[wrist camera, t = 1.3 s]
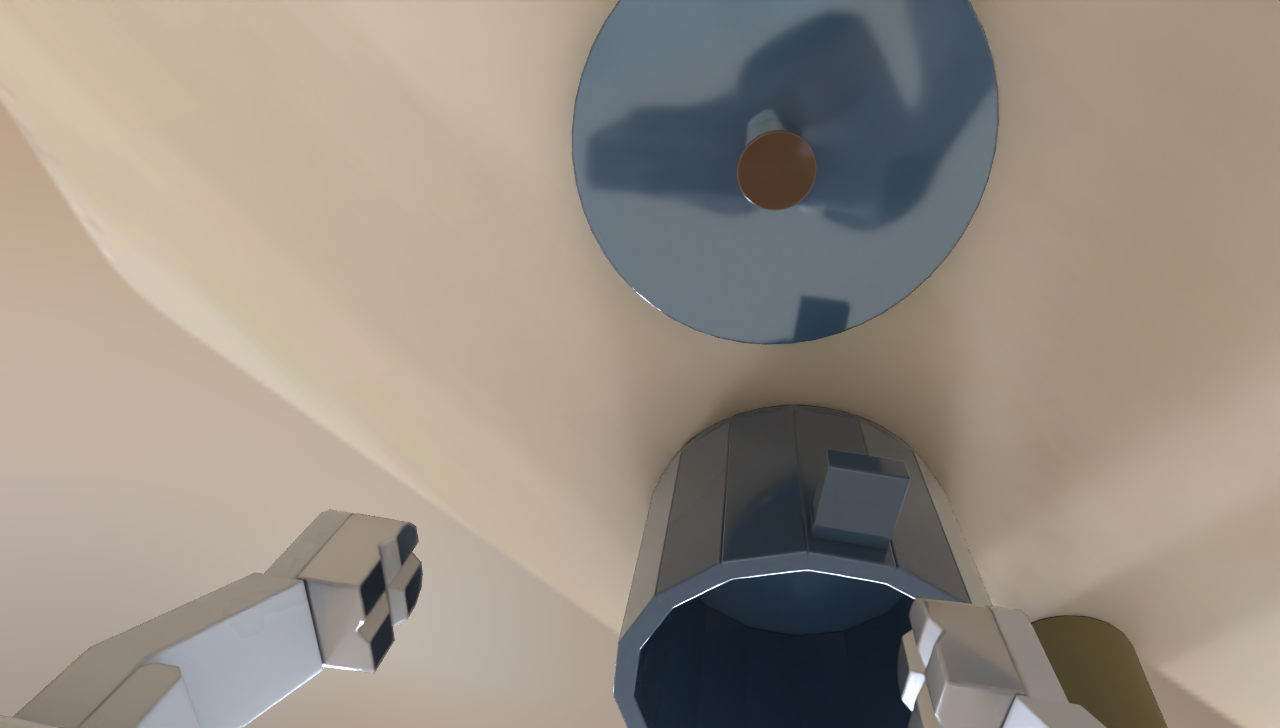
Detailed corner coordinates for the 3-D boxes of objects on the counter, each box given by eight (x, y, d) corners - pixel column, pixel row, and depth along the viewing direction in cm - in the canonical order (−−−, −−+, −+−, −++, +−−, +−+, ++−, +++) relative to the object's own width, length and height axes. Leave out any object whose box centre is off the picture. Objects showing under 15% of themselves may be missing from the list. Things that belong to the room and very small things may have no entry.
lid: (1052, -67, 21) (1127, -95, 17) (921, 357, 27) (951, 414, 23) (590, -105, 22) (552, -140, 18) (570, 306, 29) (538, 351, 24)
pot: (1010, 375, 27) (1126, 527, 18) (889, 695, 35) (931, 901, 27) (674, 326, 28) (638, 447, 20) (634, 645, 37) (598, 826, 28)
